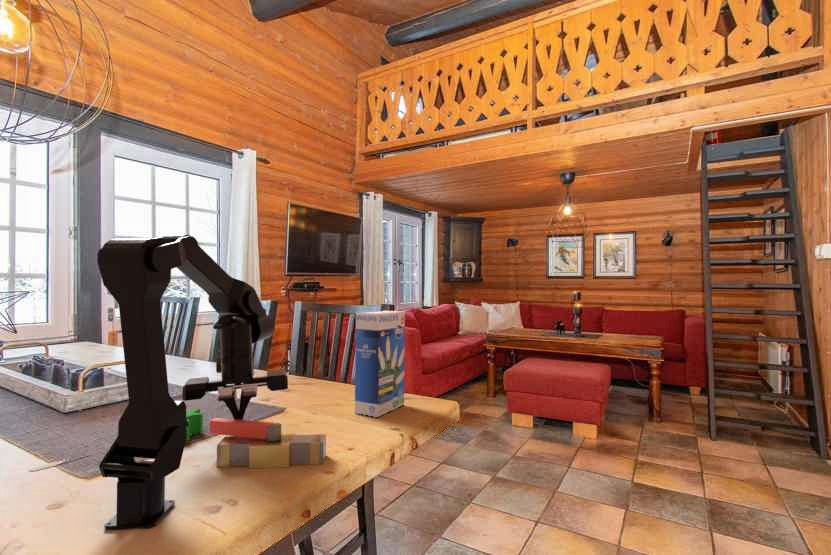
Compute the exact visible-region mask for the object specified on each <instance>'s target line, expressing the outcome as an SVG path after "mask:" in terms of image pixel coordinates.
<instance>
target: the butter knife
mask: <svg viewBox="0 0 831 555" xmlns="http://www.w3.org/2000/svg"><path fill="white" fill-rule="evenodd" d="M62 460H63V461H65V459H62ZM58 461H59V462H57V461H54V463H53V462H50V463H47V464H43V465H39V466H35V467H31V468H30V469H28V472H29V473H30V472H31V473H32V472H38V471H42V470H45V469H49V468H53V467H57V466H58V465H57V464H60V463H62V462H63V461H61V460H58ZM67 461H68V460H67ZM56 465H57V466H56Z"/></svg>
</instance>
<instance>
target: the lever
mask: <svg viewBox="0 0 831 555" xmlns="http://www.w3.org/2000/svg"><path fill="white" fill-rule="evenodd" d="M209 434H211V435H219V436H221V435H222V436H223V435H224V436H240V437H250V438H260V439H266V440H267V441H276V440H279V439H281V434H282V423H280V422H271V421H269V422H268V421H260V420H258V421H257V420H246V419H243V420H238V419H234V418H223V417H215V418H211V420H209Z"/></svg>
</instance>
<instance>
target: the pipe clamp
mask: <svg viewBox="0 0 831 555" xmlns="http://www.w3.org/2000/svg"><path fill="white" fill-rule="evenodd" d="M186 418H187V422H188V424H189V426H188V427H186V433H187V437H186V441H188V440H189V441H191V440H190V439H191V438H190V437H191V436H192V435H191V434H194V435H198V434H197V433H202V432H204V431H203V429H204V428H203V426H204V424H203V423H204V413H202V412H201V408H194V409H192V410H189V411H188V412H187V411H186ZM202 434H203V433H202ZM189 441H188V442H189Z"/></svg>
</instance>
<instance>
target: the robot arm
mask: <svg viewBox="0 0 831 555" xmlns="http://www.w3.org/2000/svg"><path fill="white" fill-rule="evenodd" d="M96 258H97V266H98V270H99V273H100V276H101V280H102V281H101V282H102V284H103V285H104V288H106V290H107V291H108V292H109V294H110V295H111V296H112V297H113V299H114V300H115V301H116V302H117V304H118V309H119V311H118V312H119V319H120V330H121V338H122V347H123V358H124V367H125V368H124V369H125V377H126V378H125V379H126V386H127V395H128V403H127V404H126V407H125V409H124V411H123V412H122V414H121V416H120V418H119V420H118V423H117V424H118V427H117V436H116V438H115V440H114V441H113V443H112V445H111V446H110V448H108V449H109V451H107V452H106V454H105V455H104V457H103V459H102V460H101V461H100V463H99V465H98V468H99V471H100V473H101V476H102V478H117V482H116V514H115V515H113V517H111V518H110V519H109V520H108V521H107V522H106V523H104V524H103V526H104V527H103V528H104V529H105V530H118V529H120V530H122V529H140V528H141V529H144V528H145V529H146V528H153V527H155V526H156V525H157V524H158V523H159V522H160V521H161V519H162V518H164V516H165V515H167V513H168V512H169V511H170V510H171V508H173V506H174V505H175V503H176V500H175V499H165V498H166V496H165V494H166V493H165V492H166V491H165V490H166V478H167V476H169V475H170V474H172V473H174V472H176V471H177V470H179V469H180V467H181V463H182V458H183V454H184V449H185V446H186V437H187V433H186V427H188V426H189V424H188V422H187V418H186V413H187V404H186V402H185V401H193V400H201V399H203V397H205V395H206V394H207V393H210V392H212V393H213V392H217V394H218V397H217V401H218V402H223V403H225V405H226V407H227V408H228V410H229V411H230V413H231V415H232V419H238V420H244V418H245V413H246V410H247V407H248V405H249V403H250V401H251V399H252V398H256V397H257V396H258V395H257V394H258V387H267V389H268V390H269V391H271V392H275V391H284V390H288V388H289V382H288V381H289V380H288V373H287V371H286V370H285V369H277V370H276V369H275V370H266V375H264V376H255V377H254V375H255V372H254V371H255V370H254V361H253V360H254V359H253V344H255V343H258V342H262V341H263V340H267V339H268V338H269V339H270V337H272V336H273V335H274V332H275V329H276V326H275V325H276V324H275V323H274V320H273V318H272V317H271V316H269V315H268V314H267V309H265V308H264V307H263V304H262V301H261V300H260V297H259V295H258V293H257V292H256V289H255V288H254V286H253V285H250V284H249V283H247V282H246V281H243V280H241V279H237V278H235V277H232V276H230V275H229V274H228V273H227V271H225V269H223V268H222V267H221V266H220V265H219V264H218V263H217V262H216V261H215V260H214V259H213V258H212V256H210V255H209V254H208V253H207V252H206V251H205V250H204V249H203V248H202V247H201V246H200V245H199V242H198V240H197V239H196V237H194V236H191V235H190V234H164V235H162V236H158V237H155V238H151V237H150V238H149V237H148V238H112V239H109V240H108V241H106V242H104V244H103V245H102V247H101V248H99V249H98V252H97V257H96ZM175 268H177V269H178V270H179V271H180V272H181V273H182V274H184V275H185V276H186V277H188V279H190V280H191V281H192V282H193V283H194V284H195V285H197V286H198V287H199V288H200V289H202V290H203V291H204V292H205V293H206V294H207V295H208V303H209V304H210V306H211V307H212V308H213V309H214V311H215V312H216V313H218V314H219V315H221V316H220V317H219V319H218V320H217V321H216V322H215V323H214V324H213V326H212V327H213V329H214V330H220V331H219V332H220V333H219V336H220V337H219V340H220V341H219V342H220V356H216V359H215V360H216V361H215V362H216V364H215V370H216V371H215V372H216V373H217V374H221V380H216V381H214V380H213V381H210V377H209V376H203V377H202V376H201V377H193V378H189V379H188V380H187V381H185V383H184V385H183V387H182V391H181V392H182V400H174V399H173V397H172V396H171V395H170V391H169V382H168V381H169V380H168V371H167V370H168V369H167V358H166V357H167V356H166V348H165V347H166V346H165V336H164V328H163V327H164V326H163V316H162V303H161V300H162V297H163V295H164V294H165V292H166V290H167V289H168V287H169V284H170V283H171V280H172V278H171V277H172V270H173V269H175ZM238 389H241V390H240V397H239V398H240V399H239V403H238V393H237V390H238ZM135 458H140V459H153V460H152V461H151V460H140V459H138V460H137V459H135Z"/></svg>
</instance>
